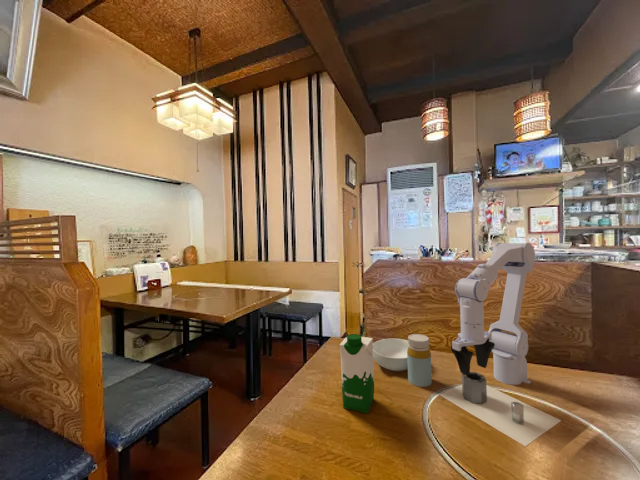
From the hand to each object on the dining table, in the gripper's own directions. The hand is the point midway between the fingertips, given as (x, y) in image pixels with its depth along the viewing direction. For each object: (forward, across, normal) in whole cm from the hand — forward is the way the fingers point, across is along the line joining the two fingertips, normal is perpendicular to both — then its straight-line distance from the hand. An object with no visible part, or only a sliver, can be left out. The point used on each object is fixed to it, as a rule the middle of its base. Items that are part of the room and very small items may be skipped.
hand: (473, 369), depth 75 cm
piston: (+8, 0, +11) cm, 14 cm away
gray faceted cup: (+8, 0, 0) cm, 8 cm away
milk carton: (+9, +28, -16) cm, 34 cm away
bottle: (+9, +6, -14) cm, 18 cm away
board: (+9, -1, +5) cm, 10 cm away
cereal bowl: (+9, +4, -27) cm, 29 cm away
